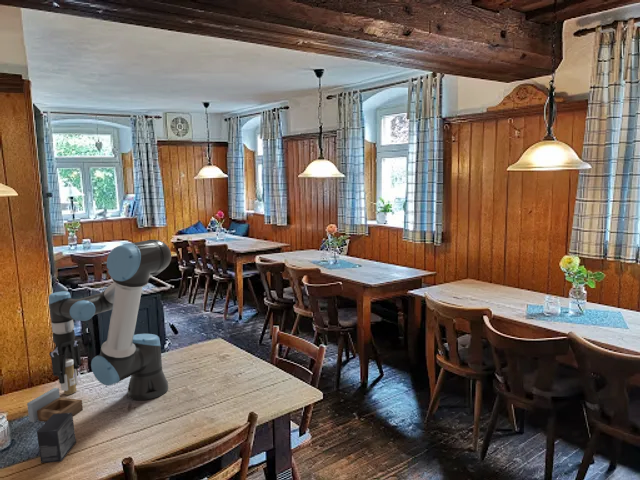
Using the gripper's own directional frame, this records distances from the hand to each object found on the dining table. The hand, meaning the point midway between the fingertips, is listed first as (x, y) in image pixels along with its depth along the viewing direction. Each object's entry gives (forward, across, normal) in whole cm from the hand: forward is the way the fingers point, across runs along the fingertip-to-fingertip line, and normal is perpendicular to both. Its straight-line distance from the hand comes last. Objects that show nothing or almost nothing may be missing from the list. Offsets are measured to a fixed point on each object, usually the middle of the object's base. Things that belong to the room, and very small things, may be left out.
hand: (69, 387), depth 185 cm
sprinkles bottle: (+2, 0, 0) cm, 2 cm away
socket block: (+2, +16, +11) cm, 19 cm away
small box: (+3, +35, +28) cm, 45 cm away
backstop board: (+2, +16, +4) cm, 17 cm away
